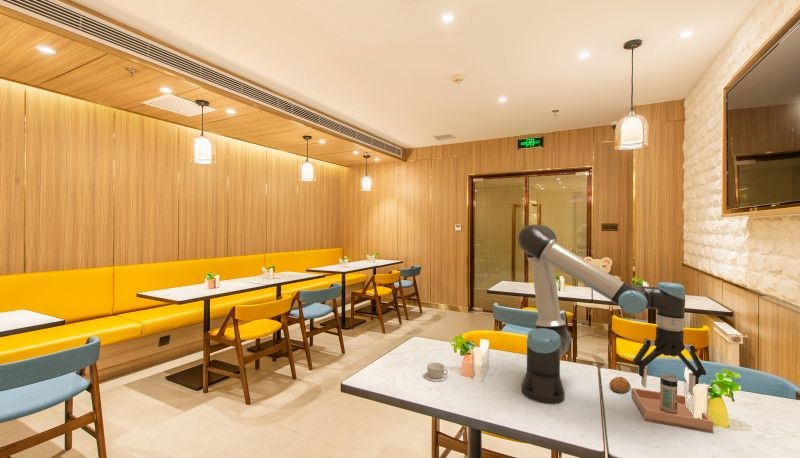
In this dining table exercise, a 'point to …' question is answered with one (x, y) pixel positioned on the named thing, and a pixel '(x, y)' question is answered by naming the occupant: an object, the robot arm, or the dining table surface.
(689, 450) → the dining table surface
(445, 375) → the teacup
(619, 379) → the pastry
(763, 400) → the dining table surface
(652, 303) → the robot arm
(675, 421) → the terracotta dish
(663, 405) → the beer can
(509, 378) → the dining table surface
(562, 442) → the dining table surface
